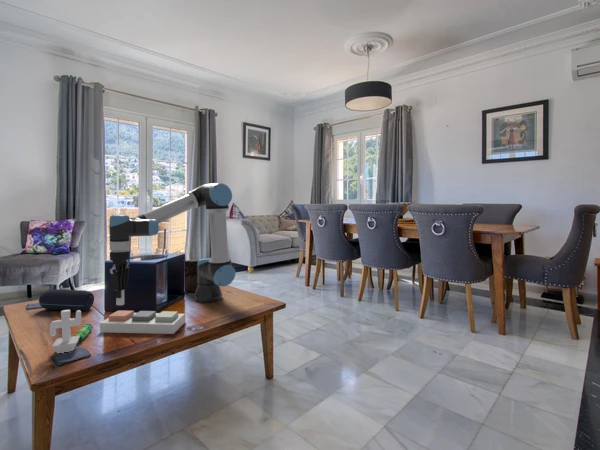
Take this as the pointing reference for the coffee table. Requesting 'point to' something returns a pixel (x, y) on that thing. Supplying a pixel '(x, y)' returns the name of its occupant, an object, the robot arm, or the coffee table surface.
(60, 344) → the figurine
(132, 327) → the keypad
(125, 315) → the terracotta key
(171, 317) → the sage key
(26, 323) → the coffee table surface
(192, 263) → the owl
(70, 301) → the portable speaker
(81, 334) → the candy
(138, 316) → the charcoal key
